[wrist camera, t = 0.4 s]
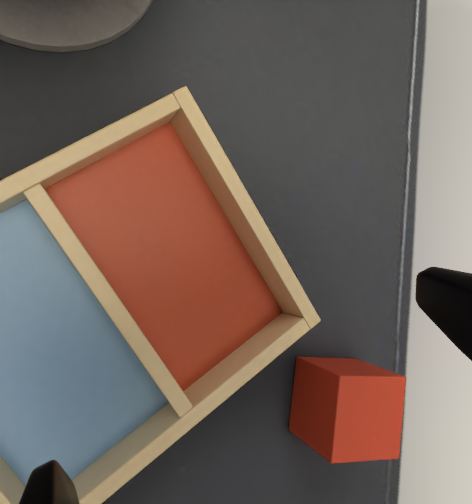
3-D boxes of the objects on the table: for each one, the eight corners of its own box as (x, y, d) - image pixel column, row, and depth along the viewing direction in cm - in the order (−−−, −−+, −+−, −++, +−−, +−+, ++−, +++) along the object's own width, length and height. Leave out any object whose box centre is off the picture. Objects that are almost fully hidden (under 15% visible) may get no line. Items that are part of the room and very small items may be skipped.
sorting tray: (293, 313, 26) (321, 320, 23) (36, 519, 20) (31, 563, 18) (171, 106, 23) (186, 85, 20) (-164, 281, 18) (-210, 286, 15)
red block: (348, 427, 27) (399, 459, 23) (288, 430, 26) (331, 464, 21) (355, 358, 28) (407, 376, 23) (295, 356, 26) (340, 375, 22)
